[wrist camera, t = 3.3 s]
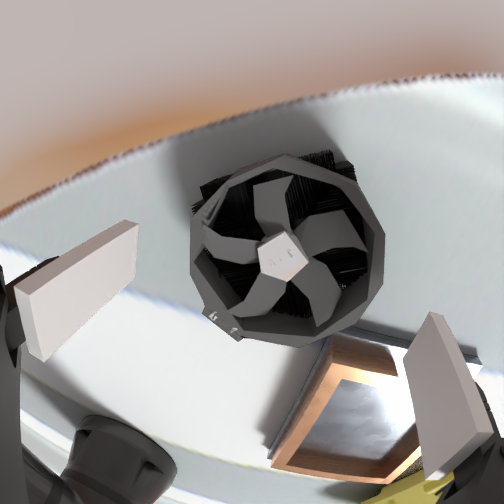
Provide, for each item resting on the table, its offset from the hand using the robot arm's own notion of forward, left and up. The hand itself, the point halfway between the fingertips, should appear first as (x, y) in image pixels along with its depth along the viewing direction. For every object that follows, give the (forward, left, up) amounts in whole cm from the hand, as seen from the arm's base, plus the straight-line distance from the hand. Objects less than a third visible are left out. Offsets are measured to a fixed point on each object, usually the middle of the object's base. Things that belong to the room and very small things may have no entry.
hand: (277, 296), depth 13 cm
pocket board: (+12, -14, -8) cm, 20 cm away
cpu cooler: (0, 0, -9) cm, 9 cm away
